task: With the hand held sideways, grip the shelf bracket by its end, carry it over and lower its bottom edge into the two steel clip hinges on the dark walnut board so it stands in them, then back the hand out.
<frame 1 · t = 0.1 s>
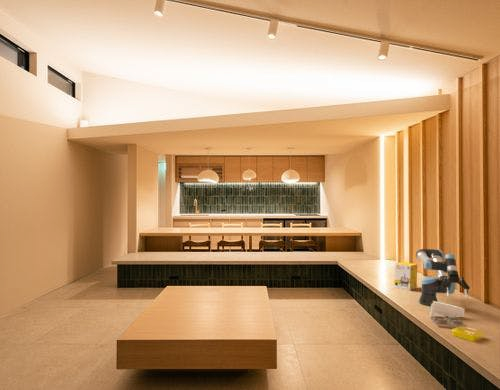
hand: (457, 296, 286), 15 cm above the table, tool tilted 35°, fingers open, 13 cm apart
element tile: (467, 337, 242), on the table
packaging box: (405, 287, 374), on the table
shelf bracket: (446, 317, 282), on the table
hinge board: (449, 324, 265), on the table
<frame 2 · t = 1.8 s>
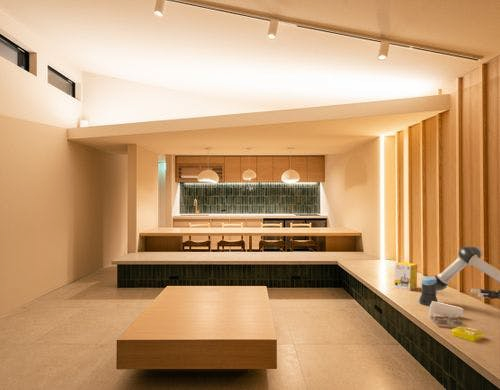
hand: (474, 292, 278), 21 cm above the table, tool horizontal, fingers open, 13 cm apart
nothing on the table moved.
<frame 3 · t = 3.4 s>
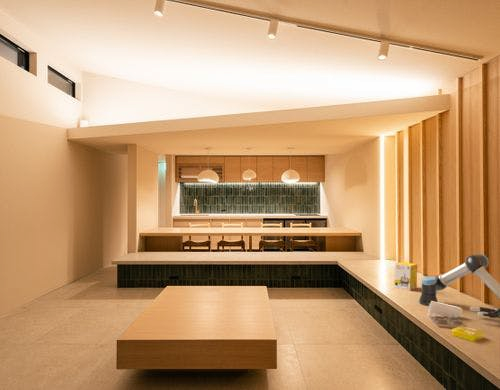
hand: (474, 311, 278), 6 cm above the table, tool horizontal, fingers open, 13 cm apart
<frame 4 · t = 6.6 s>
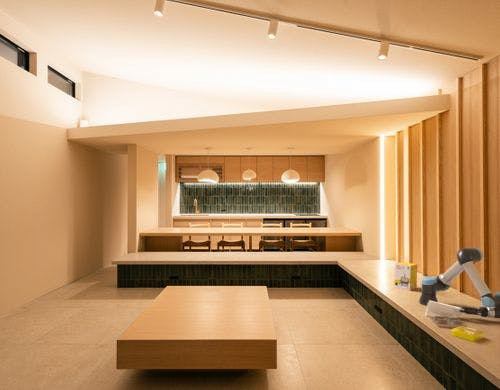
hand: (453, 309, 281), 6 cm above the table, tool horizontal, fingers closed on shelf bracket, 5 cm apart
shelf bracket: (442, 316, 282), on the table, touching gripper
everything else where it was.
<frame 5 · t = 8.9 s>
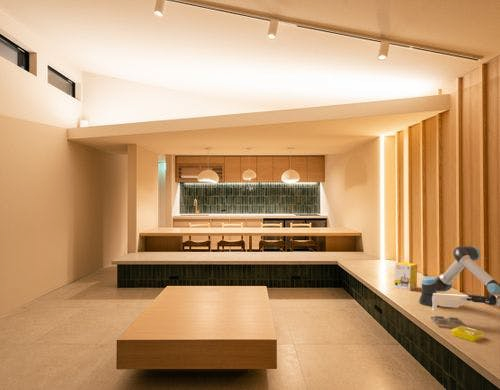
hand: (460, 297, 270), 19 cm above the table, tool horizontal, fingers closed on shelf bracket, 4 cm apart
shelf bracket: (451, 307, 271), point 10 cm above the table, touching gripper
everything else where it was.
when the fingers open (10 cm above the table, at t = 11.2 s): shelf bracket stays where it is, resting on hinge board.
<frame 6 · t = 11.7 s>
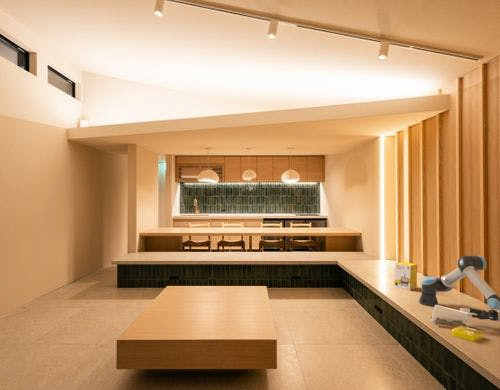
hand: (463, 312, 264), 10 cm above the table, tool horizontal, fingers open, 11 cm apart
shelf bracket: (450, 322, 265), point 1 cm above the table, touching hinge board
everything else where it was.
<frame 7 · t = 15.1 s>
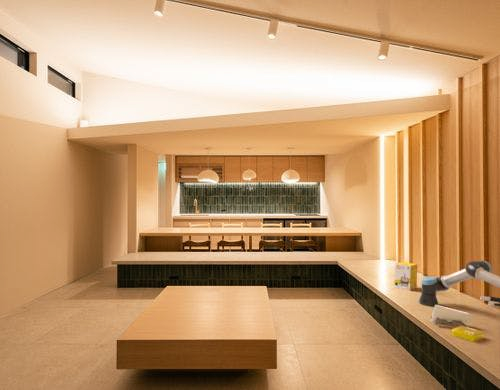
hand: (484, 300, 261), 19 cm above the table, tool horizontal, fingers open, 13 cm apart
nothing on the table moved.
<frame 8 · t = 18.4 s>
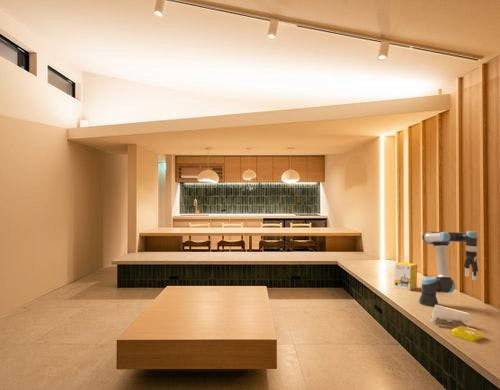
hand: (470, 278, 279), 32 cm above the table, tool pointing down, fingers open, 13 cm apart
nothing on the table moved.
at the end: shelf bracket 2.7 cm from the target spot on the hinge board, point 1.3 cm above the hinge board's base; shelf bracket tilted 2°; the gripper is holding nothing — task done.
